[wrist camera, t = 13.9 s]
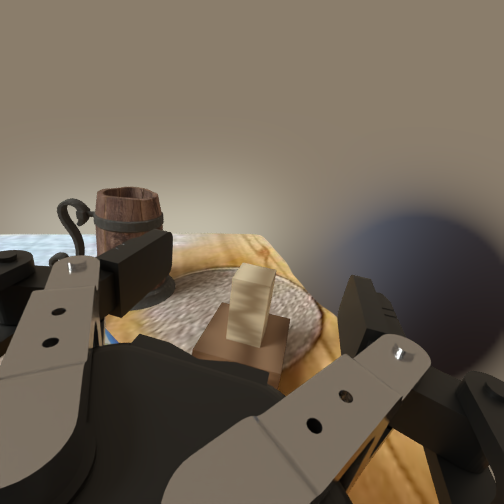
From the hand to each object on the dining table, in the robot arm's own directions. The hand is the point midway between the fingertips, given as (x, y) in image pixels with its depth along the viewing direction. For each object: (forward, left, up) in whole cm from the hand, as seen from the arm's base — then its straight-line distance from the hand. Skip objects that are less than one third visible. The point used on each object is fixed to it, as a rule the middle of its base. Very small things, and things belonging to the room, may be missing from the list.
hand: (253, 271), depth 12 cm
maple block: (-3, +22, -22) cm, 31 cm away
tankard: (-33, +32, -27) cm, 53 cm away
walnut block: (-3, +22, -27) cm, 35 cm away
